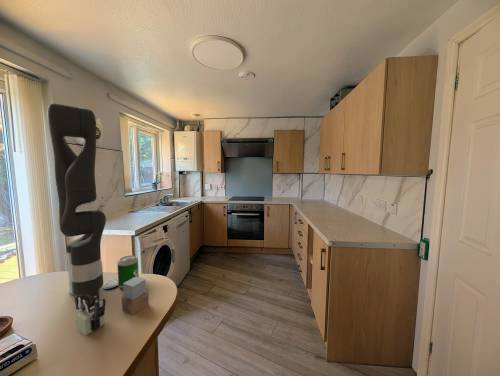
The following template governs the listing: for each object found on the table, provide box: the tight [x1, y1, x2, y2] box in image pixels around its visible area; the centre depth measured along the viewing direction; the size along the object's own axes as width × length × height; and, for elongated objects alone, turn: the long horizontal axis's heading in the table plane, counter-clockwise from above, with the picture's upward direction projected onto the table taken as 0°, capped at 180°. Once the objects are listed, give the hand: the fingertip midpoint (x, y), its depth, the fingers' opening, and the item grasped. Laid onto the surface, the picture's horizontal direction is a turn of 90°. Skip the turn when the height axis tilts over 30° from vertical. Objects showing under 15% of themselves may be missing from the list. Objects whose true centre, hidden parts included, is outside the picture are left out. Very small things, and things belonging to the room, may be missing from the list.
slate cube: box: [122, 276, 147, 300], centre depth 71 cm, size 5×5×5 cm
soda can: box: [117, 255, 140, 289], centre depth 85 cm, size 8×8×12 cm
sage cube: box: [75, 306, 105, 336], centre depth 62 cm, size 5×5×5 cm
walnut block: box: [121, 290, 150, 316], centre depth 71 cm, size 6×6×5 cm
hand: (90, 325), depth 62 cm, fingers closed on sage cube, 5 cm apart
